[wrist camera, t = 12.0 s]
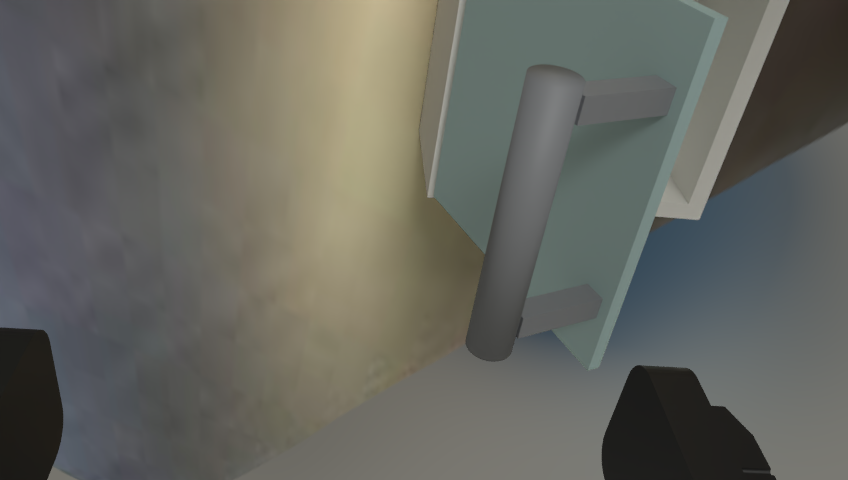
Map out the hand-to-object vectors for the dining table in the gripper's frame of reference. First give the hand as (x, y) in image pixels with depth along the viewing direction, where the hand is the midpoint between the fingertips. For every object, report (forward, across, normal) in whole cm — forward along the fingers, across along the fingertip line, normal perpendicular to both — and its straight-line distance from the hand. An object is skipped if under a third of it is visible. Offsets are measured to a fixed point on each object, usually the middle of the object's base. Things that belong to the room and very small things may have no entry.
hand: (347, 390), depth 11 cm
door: (+21, -9, +6) cm, 24 cm away
